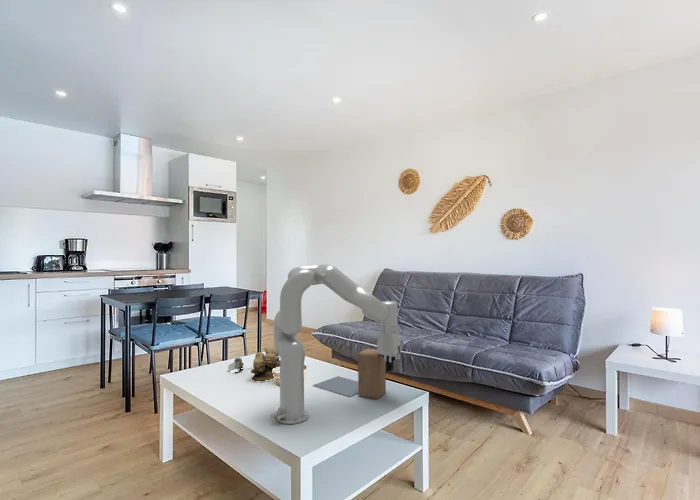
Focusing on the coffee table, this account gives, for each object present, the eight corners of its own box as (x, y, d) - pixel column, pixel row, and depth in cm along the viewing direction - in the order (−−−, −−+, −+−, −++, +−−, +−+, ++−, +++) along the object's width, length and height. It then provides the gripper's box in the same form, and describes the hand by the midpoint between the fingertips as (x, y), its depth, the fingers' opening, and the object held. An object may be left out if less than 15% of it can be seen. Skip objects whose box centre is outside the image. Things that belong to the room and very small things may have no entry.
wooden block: (357, 396, 180) (357, 352, 180) (367, 389, 189) (366, 347, 189) (377, 400, 176) (377, 355, 176) (386, 392, 184) (385, 349, 184)
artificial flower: (270, 371, 225) (269, 356, 222) (229, 381, 217) (227, 365, 214) (268, 363, 233) (266, 348, 230) (228, 372, 225) (226, 356, 222)
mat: (349, 397, 180) (349, 396, 180) (313, 385, 195) (313, 385, 195) (374, 386, 193) (374, 385, 193) (338, 376, 209) (338, 376, 209)
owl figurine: (275, 371, 220) (274, 341, 220) (288, 376, 212) (287, 344, 212) (246, 379, 207) (246, 346, 207) (258, 384, 199) (258, 350, 199)
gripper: (370, 328, 178) (371, 369, 178) (398, 332, 168) (398, 376, 168) (380, 325, 183) (381, 365, 183) (408, 329, 174) (408, 371, 173)
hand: (389, 370), depth 176 cm, fingers closed
